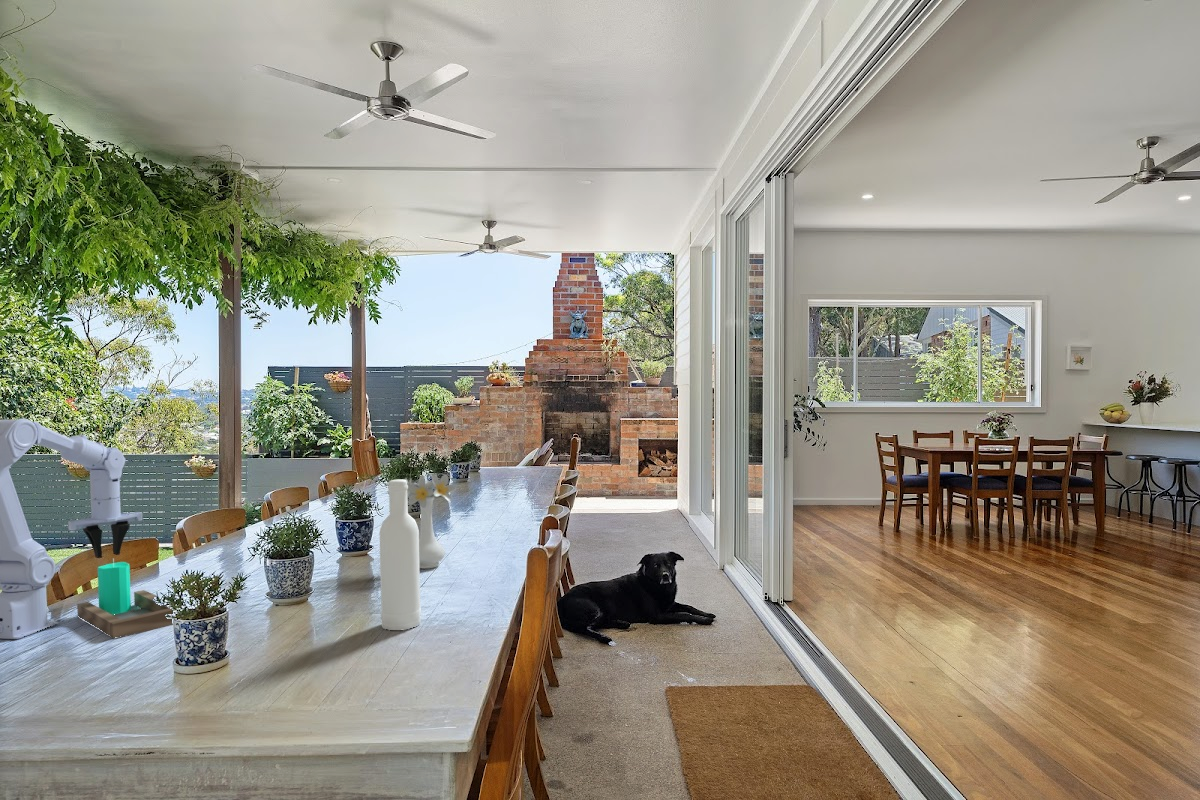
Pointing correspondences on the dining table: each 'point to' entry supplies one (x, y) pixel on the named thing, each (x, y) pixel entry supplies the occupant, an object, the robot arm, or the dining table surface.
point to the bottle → (399, 563)
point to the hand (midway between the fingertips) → (107, 555)
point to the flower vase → (428, 516)
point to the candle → (114, 587)
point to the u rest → (127, 616)
